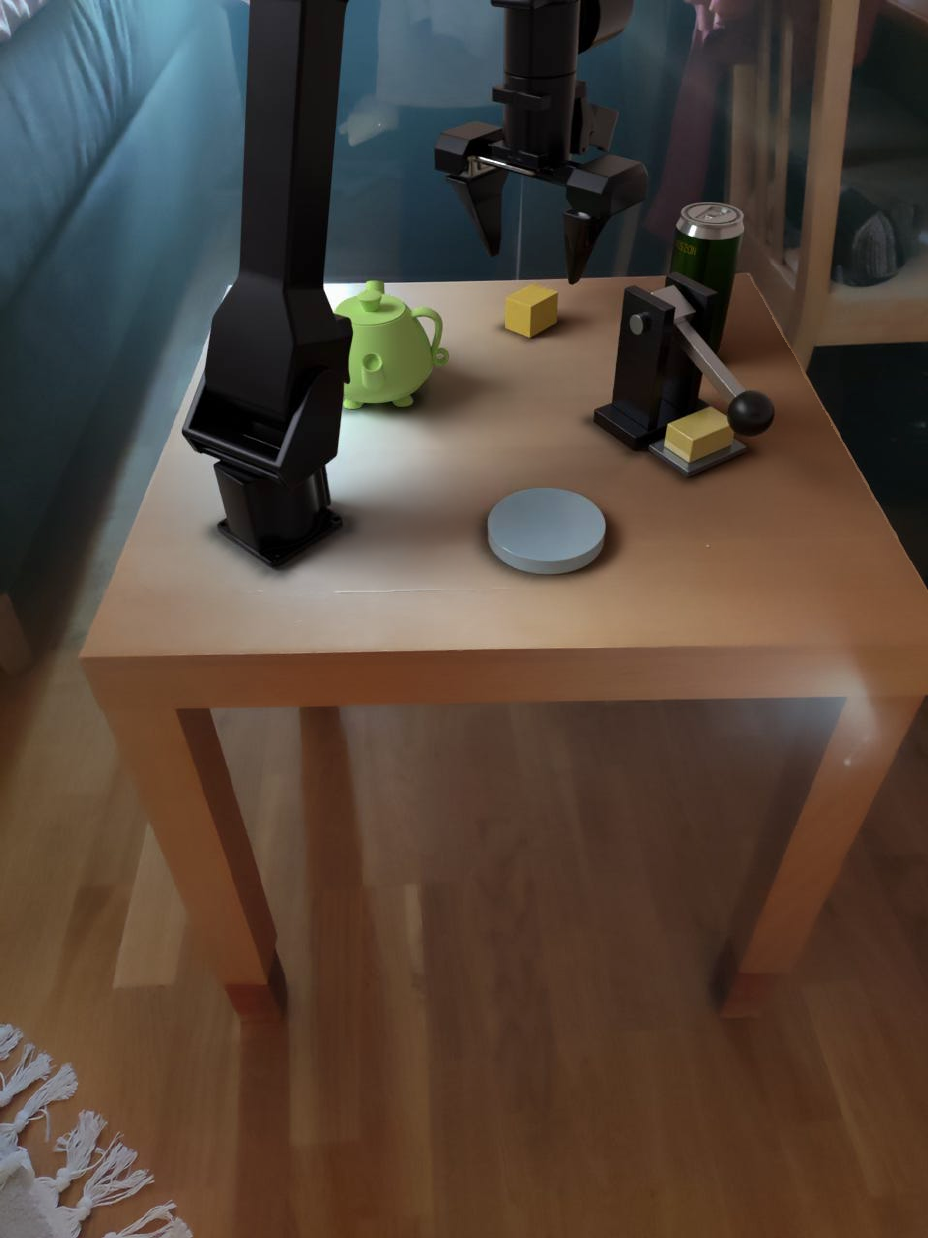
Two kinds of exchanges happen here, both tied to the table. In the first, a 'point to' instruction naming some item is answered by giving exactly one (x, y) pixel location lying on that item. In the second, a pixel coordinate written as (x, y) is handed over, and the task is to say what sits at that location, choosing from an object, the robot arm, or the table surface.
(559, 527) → the plate
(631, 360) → the cutter
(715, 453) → the butter dish
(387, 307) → the teapot
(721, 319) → the beer can
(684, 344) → the arm
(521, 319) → the butter pat
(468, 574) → the table surface
